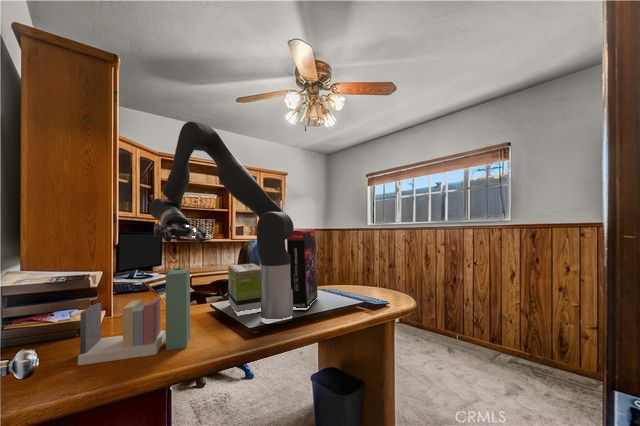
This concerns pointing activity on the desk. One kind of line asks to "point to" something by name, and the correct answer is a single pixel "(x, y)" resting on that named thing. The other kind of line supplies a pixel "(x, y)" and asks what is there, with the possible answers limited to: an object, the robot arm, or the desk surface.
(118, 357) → the shelf
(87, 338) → the bookend
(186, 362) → the desk surface
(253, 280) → the tea box
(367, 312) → the desk surface
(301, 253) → the graphics card box
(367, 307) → the desk surface
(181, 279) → the book
